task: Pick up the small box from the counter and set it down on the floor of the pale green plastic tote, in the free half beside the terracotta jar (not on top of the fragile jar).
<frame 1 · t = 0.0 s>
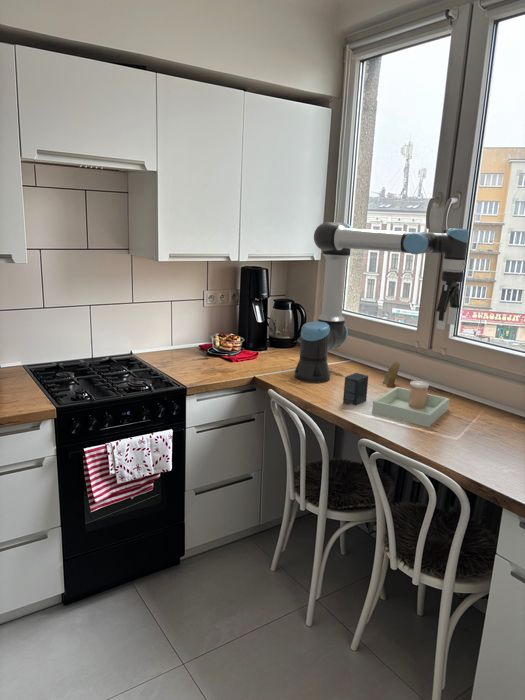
hand: (445, 326, 204), 28 cm above the worktop, fingers open, 13 cm apart
jar: (416, 406, 196), point 1 cm above the worktop, touching tote
tote: (410, 413, 191), on the worktop
rock: (388, 386, 222), on the worktop
box: (354, 403, 198), on the worktop
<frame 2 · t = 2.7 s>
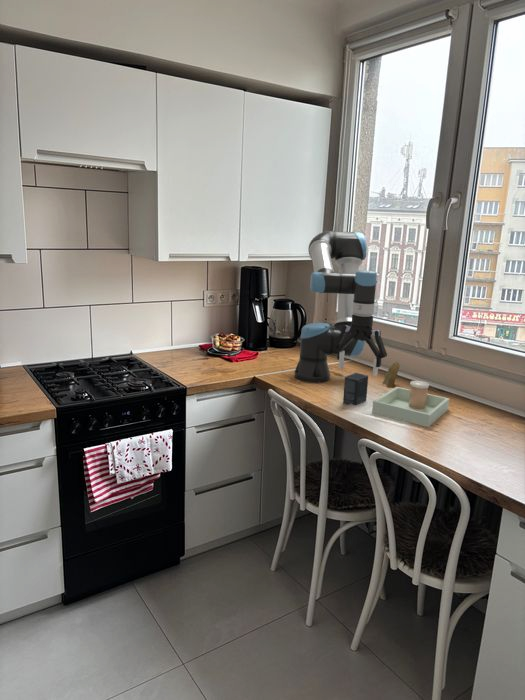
hand: (357, 372, 195), 12 cm above the worktop, fingers open, 13 cm apart
nothing on the worktop moved.
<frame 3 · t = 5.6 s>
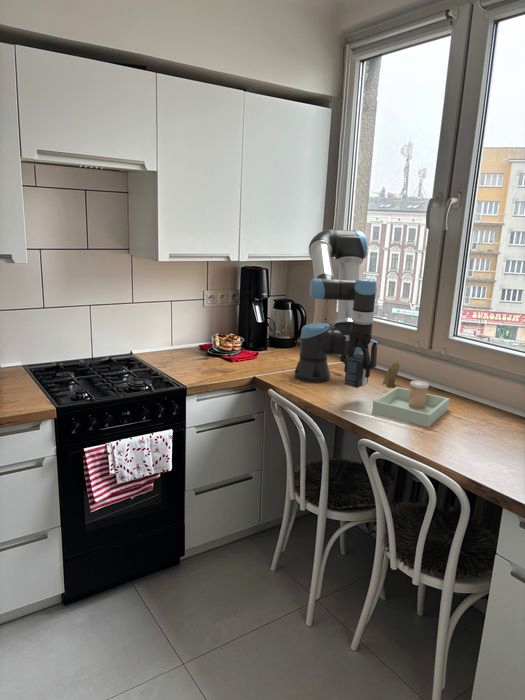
hand: (355, 383, 197), 8 cm above the worktop, fingers closed on box, 6 cm apart
box: (355, 384, 198), point 7 cm above the worktop, touching gripper
everything else where it was.
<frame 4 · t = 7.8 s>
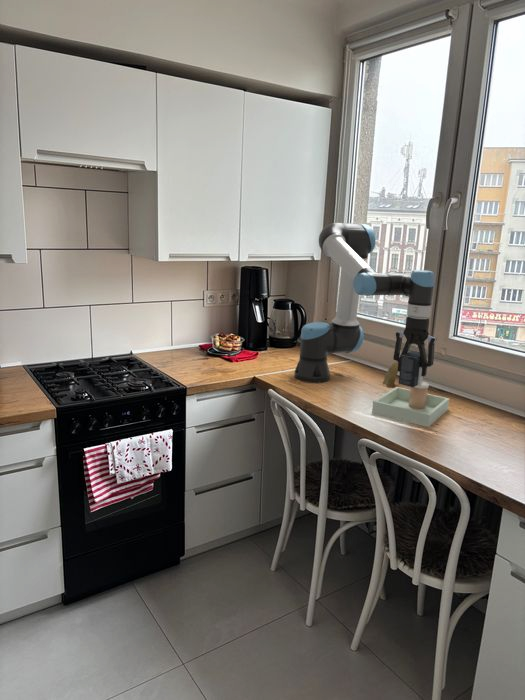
hand: (410, 382, 184), 12 cm above the worktop, fingers closed on box, 6 cm apart
box: (410, 384, 185), point 12 cm above the worktop, touching gripper
everything else where it was.
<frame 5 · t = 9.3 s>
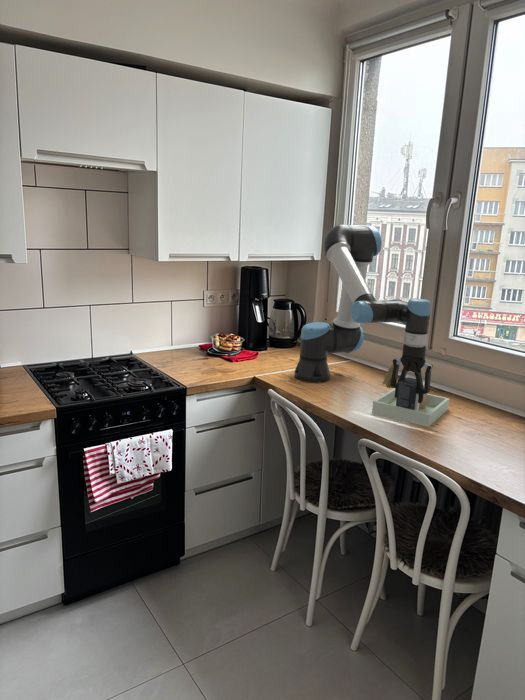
hand: (407, 408, 187), 3 cm above the worktop, fingers closed on box, 6 cm apart
box: (407, 410, 187), point 2 cm above the worktop, touching gripper
everything else where it was.
when the fingers open (2 cm above the worktop, at t = 10.2 s): box stays where it is, resting on tote.
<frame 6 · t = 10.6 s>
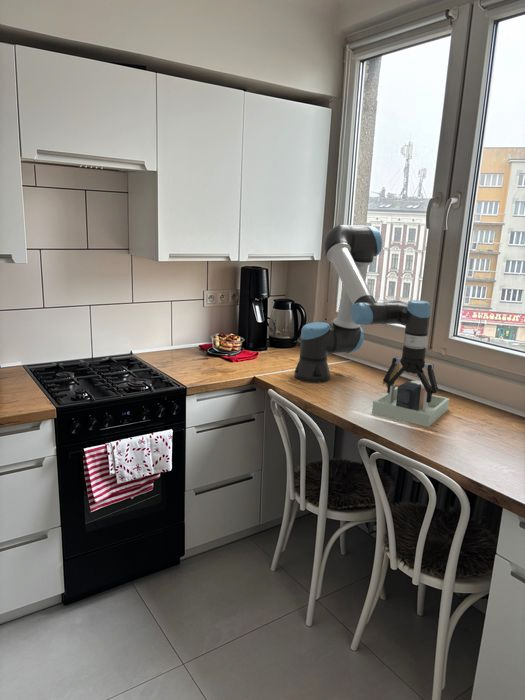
hand: (407, 406, 187), 4 cm above the worktop, fingers open, 11 cm apart
box: (406, 414, 187), point 1 cm above the worktop, touching tote
everything else where it was.
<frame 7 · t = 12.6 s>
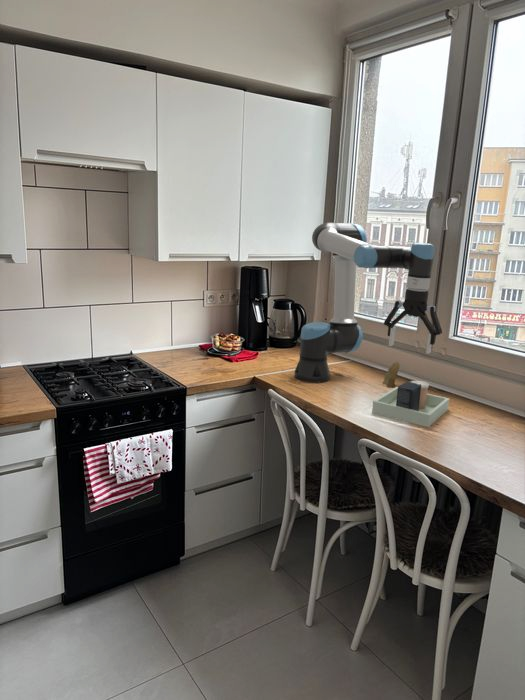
hand: (409, 349, 188), 23 cm above the worktop, fingers open, 13 cm apart
nothing on the worktop moved.
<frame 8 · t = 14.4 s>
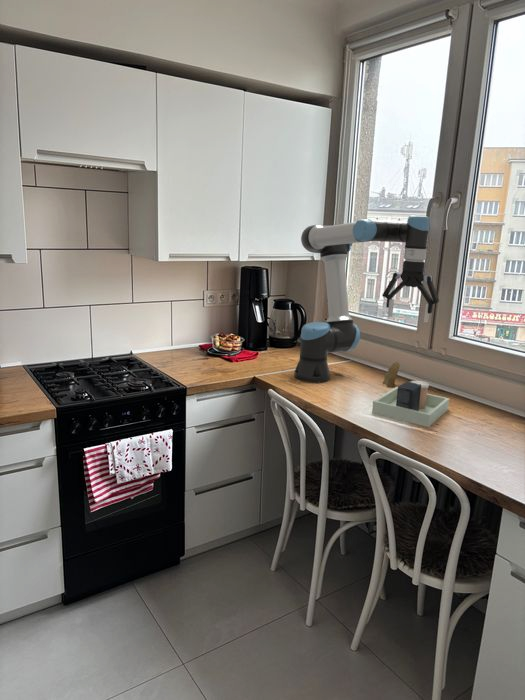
hand: (407, 319, 195), 32 cm above the worktop, fingers open, 13 cm apart
nothing on the worktop moved.
at the end: box inside the target area on the tote (0.4 cm from its centre), point 0.6 cm above the tote's base; box tilted 0°; jar moved 0.0 cm from its start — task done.
